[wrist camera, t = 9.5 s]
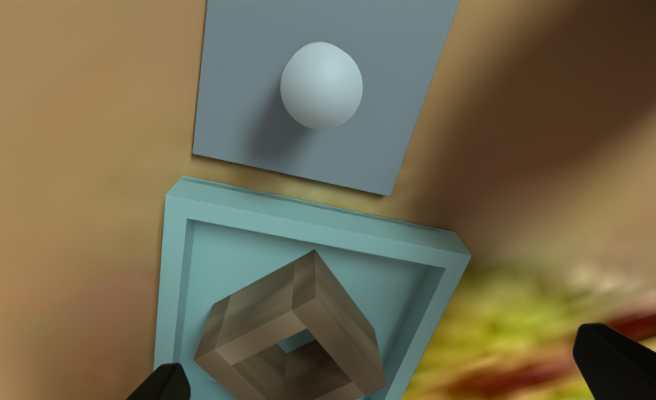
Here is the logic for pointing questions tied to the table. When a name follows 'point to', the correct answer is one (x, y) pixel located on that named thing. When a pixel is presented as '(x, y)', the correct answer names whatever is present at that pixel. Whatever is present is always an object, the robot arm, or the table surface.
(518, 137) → the table surface
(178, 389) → the robot arm
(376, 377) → the walnut square frame
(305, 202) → the tray
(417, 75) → the grey square knobbed piece
